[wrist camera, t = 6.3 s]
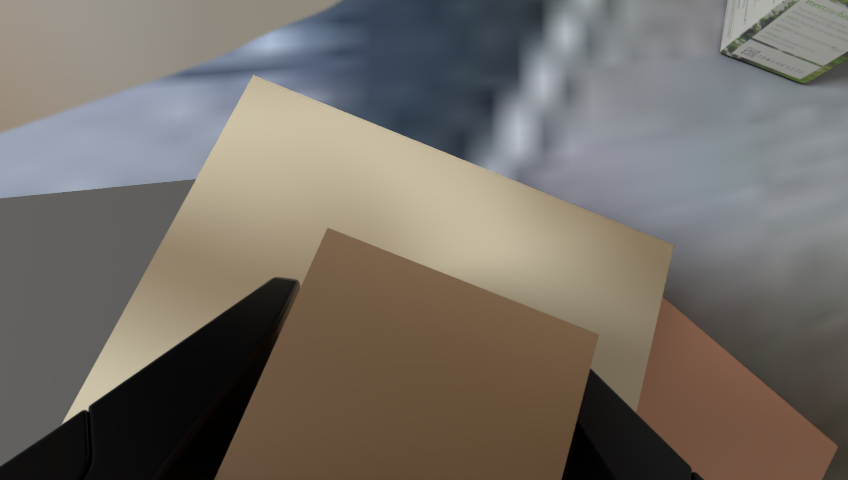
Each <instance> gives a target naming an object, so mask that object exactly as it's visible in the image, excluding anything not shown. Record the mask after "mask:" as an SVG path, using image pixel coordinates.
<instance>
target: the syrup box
mask: <svg viewBox="0 0 848 480" xmlns="http://www.w3.org/2000/svg"><path fill="white" fill-rule="evenodd" d="M720 52H721V53H723V54H725V55H728V56H730V57H733V58H736V59H739V60H741V61H744V62H747V63H749V64H752V65H754V66H757V67H760V68H763V69H765V70H767V71H770V72H773V73H776V74H778V75H781V76H783V77H786V78H789V79H791V80H794V81H797V82H800V83H803V84H804V83H807V82H809V81H811V80H813V79H815V78H816V77H818V76H820V75H822V74H823V73H825V72H827V71H828V70H830V69H832V68H833V67H835V66H837V65H839V64H840V63H842V62H844V61H846V60H847V59H848V0H728V2H727V8H726V14H725V21H724V27H723V34H722V41H721V47H720Z"/></svg>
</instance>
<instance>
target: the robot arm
mask: <svg viewBox="0 0 848 480" xmlns="http://www.w3.org/2000/svg"><path fill="white" fill-rule="evenodd" d="M299 290H300V283H299V281H298V280H297V279H291V278H284V277H274V278H272V279H270V280H269V281H267V282H266V283H264V284H263V285H262V286H260V287H259V288H257V289H256V290H254V291H253V292H252V293H250V294H249V295H247V296H246V297H244V298H243V299H241V300H240V301H239V302H237V303H236V304H234V305H233V306H231V307H230V308H229V309H227V310H226V311H224V312H223V313H221V314H220V315H219V316H217V317H216V318H214V319H213V320H211V321H210V322H208V323H207V324H206V325H204V326H203V327H201V328H200V329H198V330H197V331H196V332H194V333H193V334H191V335H190V336H188V337H187V338H186V339H184V340H183V341H181V342H180V343H178V344H177V345H175V346H174V347H173V348H171V349H170V350H168V351H167V352H165V353H164V354H163V355H161V356H160V357H158V358H157V359H155V360H154V361H153V362H151V363H150V364H148V365H147V366H145V367H144V368H143V369H141V370H140V371H138V372H137V373H135V374H134V375H132V376H131V377H130V378H128V379H127V380H125V381H124V382H122V383H121V384H120V385H118V386H117V387H115V388H114V389H112V390H111V391H110V392H108V393H107V394H105V395H104V396H102V397H101V398H99V399H98V400H97V401H95V402H94V403H92V404H91V405H90V406H89V408H88V411H87V410H82V411H80V412H79V413H78V414H76V415H75V416H73V417H72V418H70V419H69V420H68V421H66V422H65V423H63V424H62V425H60V426H59V427H57V428H56V429H55V430H53V431H52V432H50V433H49V434H47V435H46V436H44V437H43V438H41V439H40V440H38V441H37V442H35V443H34V444H32V445H31V446H29V447H28V448H26V449H25V450H23V451H22V452H20V453H19V454H17V455H16V456H14V457H13V458H11V459H10V460H8V461H7V462H5V463H4V464H2V465H1V466H0V480H214V479H215V477H216V475H217V473H218V470H219V468H220V466H221V464H222V462H223V459H224V457H225V455H226V453H227V450H228V448H229V446H230V444H231V442H232V439H233V437H234V435H235V433H236V430H237V428H238V426H239V424H240V421H241V419H242V417H243V415H244V413H245V410H246V408H247V406H248V404H249V401H250V399H251V397H252V395H253V392H254V390H255V388H256V386H257V384H258V381H259V379H260V377H261V375H262V372H263V370H264V368H265V366H266V364H267V361H268V359H269V357H270V355H271V352H272V350H273V348H274V346H275V343H276V341H277V339H278V337H279V335H280V332H281V330H282V328H283V326H284V323H285V321H286V319H287V317H288V315H289V312H290V310H291V308H292V306H293V303H294V301H295V299H296V297H297V294H298V292H299ZM561 480H704V479H703V478H702V477H701V476H700V475H699V474H698V473H697V472H692V468H691V466H690V465H689V464H688V463H687V462H686V461H685V460H684V459H682V458H681V457H680V456H679V455H678V454H677V453H676V452H675V451H674V450H673V449H672V448H671V447H670V446H669V445H668V444H667V443H666V442H665V441H664V440H663V439H662V438H661V437H660V436H659V435H658V434H657V433H656V432H655V431H654V430H653V429H652V428H651V427H650V426H649V425H648V424H647V423H646V422H645V421H644V420H643V419H642V418H641V417H640V416H639V415H638V414H637V413H636V412H635V411H634V410H633V409H632V408H631V407H630V406H629V405H628V404H627V403H626V402H625V401H624V400H623V399H622V398H621V397H620V396H619V395H618V394H617V393H615V392H614V391H613V390H612V389H611V388H610V387H609V386H608V385H607V384H606V383H605V382H604V381H603V380H602V379H601V378H600V377H599V376H598V375H597V374H596V373H595V372H594V371H593V370H592V369H591V368H590V371H589V375H588V379H587V383H586V387H585V391H584V394H583V398H582V402H581V406H580V410H579V414H578V418H577V421H576V425H575V429H574V433H573V437H572V441H571V445H570V449H569V452H568V456H567V460H566V464H565V468H564V472H563V476H562V479H561Z"/></svg>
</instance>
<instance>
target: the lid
mask: <svg viewBox="0 0 848 480" xmlns="http://www.w3.org/2000/svg"><path fill="white" fill-rule="evenodd" d="M673 248H674V245H672V244H670V243H667V242H665V241H662V240H660V239H657V238H655V237H653V236H650V235H648V234H645V233H643V232H640V231H638V230H635V229H633V228H630V227H628V226H625V225H623V224H620V223H618V222H615V221H613V220H610V219H608V218H606V217H603V216H601V215H598V214H596V213H593V212H591V211H588V210H586V209H583V208H581V207H578V206H576V205H573V204H571V203H568V202H566V201H563V200H561V199H559V198H556V197H554V196H551V195H549V194H546V193H544V192H541V191H539V190H536V189H534V188H531V187H529V186H526V185H524V184H521V183H519V182H516V181H514V180H512V179H509V178H507V177H504V176H502V175H499V174H497V173H494V172H492V171H489V170H487V169H484V168H482V167H479V166H477V165H474V164H472V163H469V162H467V161H465V160H462V159H460V158H457V157H455V156H452V155H450V154H447V153H445V152H442V151H440V150H437V149H435V148H432V147H430V146H427V145H425V144H422V143H420V142H418V141H415V140H413V139H410V138H408V137H405V136H403V135H400V134H398V133H395V132H393V131H390V130H388V129H385V128H383V127H380V126H378V125H375V124H373V123H371V122H368V121H366V120H363V119H361V118H358V117H356V116H353V115H351V114H348V113H346V112H343V111H341V110H338V109H336V108H333V107H331V106H328V105H326V104H324V103H321V102H319V101H316V100H314V99H311V98H309V97H306V96H304V95H301V94H299V93H296V92H294V91H291V90H289V89H286V88H284V87H281V86H279V85H277V84H274V83H272V82H269V81H267V80H264V79H262V78H259V77H257V76H254V75H253V77H252V79H251V80H250V82H249V84H248V86H247V88H246V89H245V91H244V93H243V95H242V97H241V99H240V100H239V102H238V104H237V106H236V108H235V109H234V111H233V113H232V115H231V117H230V119H229V120H228V122H227V124H226V126H225V128H224V129H223V131H222V133H221V135H220V137H219V139H218V140H217V142H216V144H215V146H214V148H213V150H212V151H211V153H210V155H209V157H208V159H207V160H206V162H205V164H204V166H203V168H202V170H201V171H200V173H199V175H198V177H197V179H196V180H195V182H194V184H193V186H192V188H191V190H190V191H189V193H188V195H187V197H186V199H185V201H184V202H183V204H182V206H181V208H180V210H179V211H178V213H177V215H176V217H175V219H174V221H173V222H172V224H171V226H170V228H169V230H168V231H167V233H166V235H165V237H164V239H163V241H162V242H161V244H160V246H159V248H158V250H157V251H156V253H155V255H154V257H153V259H152V261H151V262H150V264H149V266H148V268H147V270H146V272H145V273H144V275H143V277H142V279H141V281H140V282H139V284H138V286H137V288H136V290H135V292H134V293H133V295H132V297H131V299H130V301H129V302H128V304H127V306H126V308H125V310H124V312H123V313H122V315H121V317H120V319H119V321H118V323H117V324H116V326H115V328H114V330H113V332H112V333H111V335H110V337H109V339H108V341H107V343H106V344H105V346H104V348H103V350H102V352H101V353H100V355H99V357H98V359H97V361H96V363H95V364H94V366H93V368H92V370H91V372H90V373H89V375H88V377H87V379H86V381H85V383H84V384H83V386H82V388H81V390H80V392H79V394H78V395H77V397H76V399H75V401H74V403H73V404H72V406H71V408H70V410H69V412H68V414H67V415H66V417H65V419H64V421H63V423H65V422H66V421H68V420H69V419H70V418H72V417H73V416H75V415H76V414H78V413H79V412H80V411H82V410H87V411H88V408H89V406H90V405H91V404H92V403H94V402H95V401H97V400H98V399H99V398H101V397H102V396H104V395H105V394H107V393H108V392H110V391H111V390H112V389H114V388H115V387H117V386H118V385H120V384H121V383H122V382H124V381H125V380H127V379H128V378H130V377H131V376H132V375H134V374H135V373H137V372H138V371H140V370H141V369H143V368H144V367H145V366H147V365H148V364H150V363H151V362H153V361H154V360H155V359H157V358H158V357H160V356H161V355H163V354H164V353H165V352H167V351H168V350H170V349H171V348H173V347H174V346H175V345H177V344H178V343H180V342H181V341H183V340H184V339H186V338H187V337H188V336H190V335H191V334H193V333H194V332H196V331H197V330H198V329H200V328H201V327H203V326H204V325H206V324H207V323H208V322H210V321H211V320H213V319H214V318H216V317H217V316H219V315H220V314H221V313H223V312H224V311H226V310H227V309H229V308H230V307H231V306H233V305H234V304H236V303H237V302H239V301H240V300H241V299H243V298H244V297H246V296H247V295H249V294H250V293H252V292H253V291H254V290H256V289H257V288H259V287H260V286H262V285H263V284H264V283H266V282H267V281H269V280H270V279H272V278H274V277H284V278H291V279H297V280H298V281H299V283H300V290H299V292H298V294H297V297H296V299H295V301H294V303H293V306H292V308H291V310H290V312H289V315H288V317H287V319H286V321H285V323H284V326H283V328H282V330H281V332H280V335H279V337H278V339H277V341H276V343H275V346H274V348H273V350H272V352H271V355H270V357H269V359H268V361H267V364H266V366H265V368H264V370H263V372H262V375H261V377H260V379H259V381H258V384H257V386H256V388H255V390H254V392H253V395H252V397H251V399H250V401H249V404H248V406H247V408H246V410H245V413H244V415H243V417H242V419H241V421H240V424H239V426H238V428H237V430H236V433H235V435H234V437H233V439H232V442H231V444H230V446H229V448H228V450H227V453H226V455H225V457H224V459H223V462H222V464H221V466H220V468H219V470H218V473H217V475H216V477H215V479H214V480H561V479H562V476H563V472H564V468H565V464H566V460H567V456H568V452H569V449H570V445H571V441H572V437H573V433H574V429H575V425H576V421H577V418H578V414H579V410H580V406H581V402H582V398H583V394H584V391H585V387H586V383H587V379H588V375H589V371H590V368H591V369H592V370H593V371H594V372H595V373H596V374H597V375H598V376H599V377H600V378H601V379H602V380H603V381H604V382H605V383H606V384H607V385H608V386H609V387H610V388H611V389H612V390H613V391H614V392H615V393H617V394H618V395H619V396H620V397H621V398H622V399H623V400H624V401H625V402H626V403H627V404H628V405H629V406H630V407H631V408H632V409H633V410H634V411H635V412H636V411H637V407H638V402H639V398H640V394H641V389H642V385H643V380H644V376H645V371H646V367H647V363H648V358H649V354H650V349H651V345H652V340H653V336H654V332H655V327H656V323H657V318H658V314H659V310H660V305H661V301H662V296H663V292H664V287H665V283H666V279H667V274H668V270H669V265H670V261H671V256H672V252H673ZM63 423H62V424H63ZM62 424H61V425H62Z"/></svg>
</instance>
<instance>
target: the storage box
mask: <svg viewBox="0 0 848 480" xmlns="http://www.w3.org/2000/svg"><path fill="white" fill-rule="evenodd" d="M636 413H637V414H638V415H639V416H640V417H641V418H642V419H643V420H644V421H645V422H646V423H647V424H648V425H649V426H650V427H651V428H652V429H653V430H654V431H655V432H656V433H657V434H658V435H659V436H660V437H661V438H662V439H663V440H664V441H665V442H666V443H667V444H668V445H669V446H670V447H671V448H672V449H673V450H674V451H675V452H676V453H677V454H678V455H679V456H680V457H681V458H682V459H684V460H685V461H686V462H687V463H688V464H689V465H690V466H691V468H692V472H697V473H698V474H699V475H700V476H701V477H702V478H703V479H704V480H822V478H823V476H824V474H825V472H826V470H827V468H828V466H829V464H830V462H831V460H832V458H833V456H834V454H835V452H836V450H837V448H838V446H837V445H836V444H835V443H834V442H832V441H831V440H830V439H829V438H828V437H827V436H825V435H824V434H823V433H822V432H821V431H820V430H818V429H817V428H816V427H815V426H814V425H813V424H811V423H810V422H809V421H808V420H807V419H805V418H804V417H803V416H802V415H801V414H800V413H798V412H797V411H796V410H795V409H794V408H793V407H791V406H790V405H789V404H788V403H787V402H786V401H784V400H783V399H782V398H781V397H780V396H779V395H777V394H776V393H775V392H774V391H773V390H772V389H770V388H769V387H768V386H767V385H766V384H764V383H763V382H762V381H761V380H760V379H759V378H757V377H756V376H755V375H754V374H753V373H752V372H750V371H749V370H748V369H747V368H746V367H745V366H743V365H742V364H741V363H740V362H739V361H738V360H736V359H735V358H734V357H733V356H732V355H731V354H729V353H728V352H727V351H726V350H725V349H723V348H722V347H721V346H720V345H719V344H718V343H716V342H715V341H714V340H713V339H712V338H711V337H709V336H708V335H707V334H706V333H705V332H704V331H702V330H701V329H700V328H699V327H698V326H697V325H695V324H694V323H693V322H692V321H691V320H690V319H688V318H687V317H686V316H685V315H684V314H682V313H681V312H680V311H679V310H678V309H677V308H675V307H674V306H673V305H672V304H671V303H670V302H668V301H667V300H666V299H665V298H664V297H663V296H662V301H661V305H660V310H659V314H658V318H657V323H656V327H655V332H654V336H653V340H652V345H651V349H650V354H649V358H648V363H647V367H646V371H645V376H644V380H643V385H642V389H641V394H640V398H639V402H638V407H637V411H636Z"/></svg>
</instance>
